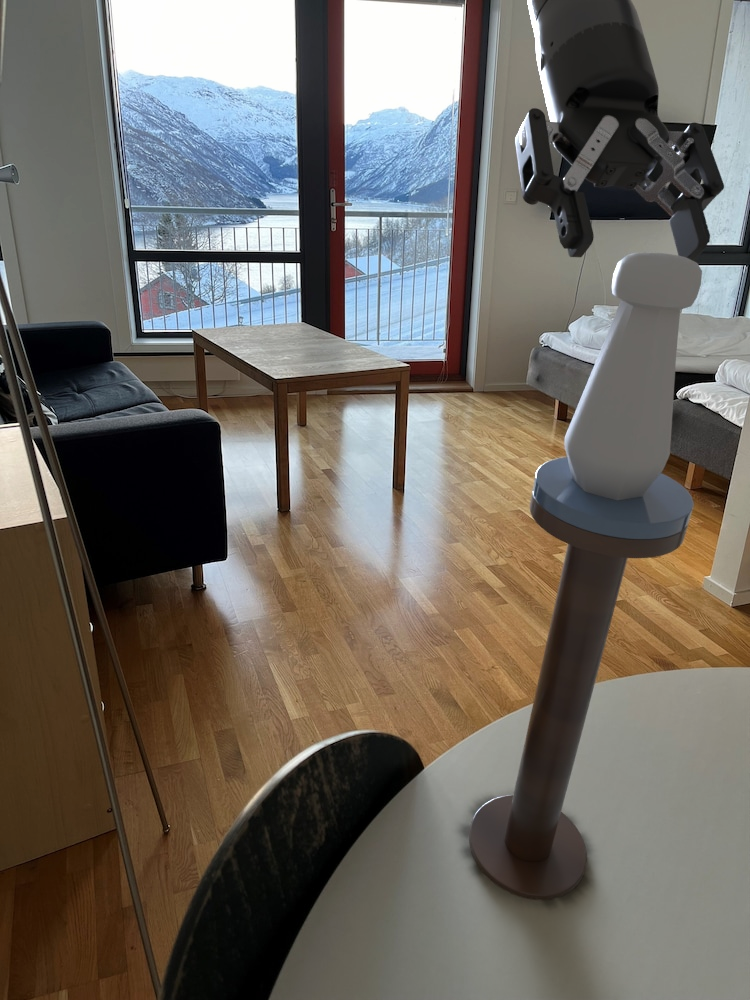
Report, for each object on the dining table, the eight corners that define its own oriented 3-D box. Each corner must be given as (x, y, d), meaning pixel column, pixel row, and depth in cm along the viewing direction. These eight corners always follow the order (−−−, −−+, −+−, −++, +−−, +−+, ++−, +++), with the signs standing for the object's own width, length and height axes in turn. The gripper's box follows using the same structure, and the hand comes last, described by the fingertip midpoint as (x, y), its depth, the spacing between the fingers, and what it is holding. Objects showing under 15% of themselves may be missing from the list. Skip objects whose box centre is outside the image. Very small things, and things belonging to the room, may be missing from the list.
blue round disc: (551, 458, 49) (554, 444, 48) (694, 491, 46) (698, 476, 45) (515, 512, 41) (518, 496, 41) (683, 556, 38) (687, 539, 38)
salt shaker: (539, 481, 43) (583, 249, 37) (584, 456, 47) (630, 243, 41) (634, 517, 40) (699, 269, 34) (674, 486, 44) (738, 259, 38)
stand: (486, 791, 63) (551, 458, 49) (592, 834, 60) (694, 491, 46) (451, 876, 56) (515, 512, 41) (570, 930, 52) (683, 556, 38)
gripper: (523, 7, 49) (568, 210, 45) (708, 29, 52) (768, 221, 48) (485, 98, 56) (520, 282, 52) (650, 113, 59) (697, 287, 55)
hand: (639, 252), depth 50 cm, fingers open, 8 cm apart
